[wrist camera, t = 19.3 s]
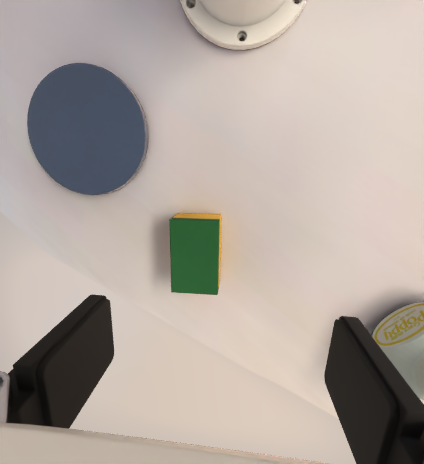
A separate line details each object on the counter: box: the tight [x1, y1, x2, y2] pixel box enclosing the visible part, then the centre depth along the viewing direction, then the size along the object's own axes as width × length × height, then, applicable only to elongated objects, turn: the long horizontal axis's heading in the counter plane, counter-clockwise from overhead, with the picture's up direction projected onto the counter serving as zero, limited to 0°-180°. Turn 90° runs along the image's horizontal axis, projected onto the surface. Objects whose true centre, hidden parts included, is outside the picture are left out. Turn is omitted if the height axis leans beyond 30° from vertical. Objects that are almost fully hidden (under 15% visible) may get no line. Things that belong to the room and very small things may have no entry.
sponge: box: [170, 213, 222, 295], centre depth 28 cm, size 8×5×4 cm, turn 179°
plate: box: [27, 63, 148, 195], centre depth 28 cm, size 13×13×2 cm
